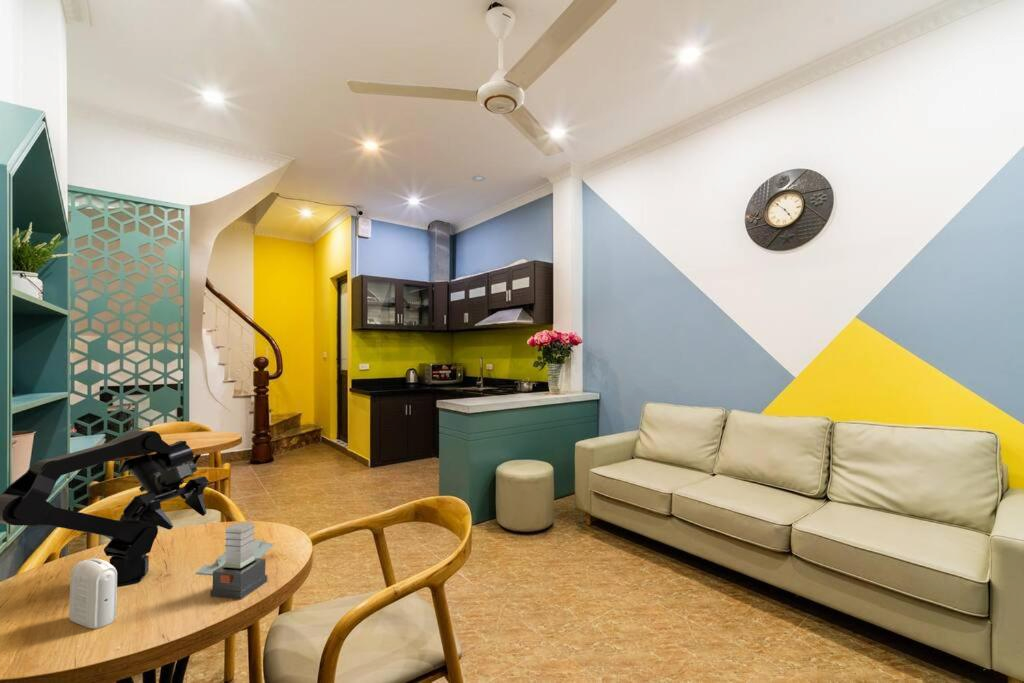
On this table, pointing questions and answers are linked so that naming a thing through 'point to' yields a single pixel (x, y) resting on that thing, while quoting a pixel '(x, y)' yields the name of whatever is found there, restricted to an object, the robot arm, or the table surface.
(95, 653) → the table surface
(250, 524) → the column
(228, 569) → the collar
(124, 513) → the robot arm
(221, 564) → the metal bracket
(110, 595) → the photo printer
